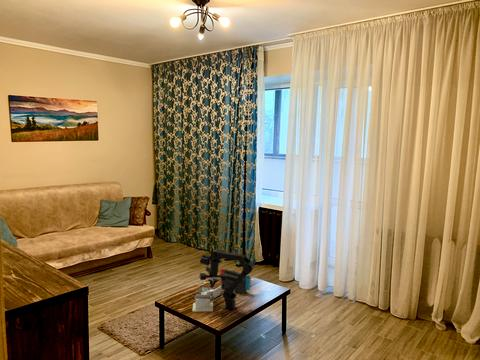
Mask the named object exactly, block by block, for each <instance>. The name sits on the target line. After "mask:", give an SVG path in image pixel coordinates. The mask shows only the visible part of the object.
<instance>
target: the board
mask: <svg viewBox="0 0 480 360" xmlns="http://www.w3.org/2000/svg"><path fill="white" fill-rule="evenodd" d="M192 304H193V305H192V312H194V313H195V312H196V313H198V312H200V313H201V312H213V311H214V302H210V309H196V302H193V303H192Z"/></svg>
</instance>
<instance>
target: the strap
mask: <svg viewBox="0 0 480 360" xmlns="http://www.w3.org/2000/svg"><path fill="white" fill-rule="evenodd" d="M195 298H210V294H209V295H198V294H195V295H194V299H195ZM210 299H211V298H210Z"/></svg>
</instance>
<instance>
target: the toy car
mask: <svg viewBox="0 0 480 360" xmlns="http://www.w3.org/2000/svg"><path fill="white" fill-rule="evenodd" d="M203 284H204V285H203ZM206 284H207V282H206V281H203V280H200V281H198V283H197V286H200V287H201V288H200V289H198V292H197V295H202V294H210V300H212V301H215V299H216V298H217V297H218V296H220V295H223V293H224V292H223V291H224V290H222V288H221V285H219V286H218V287H216V288H215V289H213V288H211V287H209V286H206V287H205V285H206ZM202 286H204V287H202Z"/></svg>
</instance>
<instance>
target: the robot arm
mask: <svg viewBox="0 0 480 360" xmlns="http://www.w3.org/2000/svg"><path fill="white" fill-rule="evenodd" d="M223 260H230V261H237V262H239V263H240V265H241V267H242V271H241V272H240V273H241V274H240V275H239V276H238V278H237V279H236V280H235V281H234V283H233V284H232V285H231V286H230V285H228V286H227V287H226V289H223V290H222V291H223V294H222V298H223V299H224V305H225V307H224V308H223V309H224V310H227V311H229V312H233V311H235V310H236V309H237V306H236V298H237V296H238V295H237V293H235V292H234V291H235V289H236V287H237V286H238V285H239V284H240V282H241V281H242V280H243V279H244V277H245V276H247V275H250V273H251V272H252V271H253V270H254V269H255V268H256V266H255V263H254V262H253V261H251V259H249V257H246V255H244V253H236V252H235V253H233V252H229V251H224V250H221V249H219V248H216V249H214V250H213V251H212V252H211V253H210V255H206V254H202V255H201V257H200V259H199V263H200V265H204V266H206V267H205V272H207V273H208V274H206V273H205V272H200V273H199V277H198V278H199V280H200V281H206V280H207V281H208V282H209V286H210V289H213V288H214V286H215V284H216V283H218V282H219V279H220V278H221V279H222V280H225V281H226V280H227V277H226V275H225V274H220V273H219V266H220V264H221V263H223ZM209 266H210V267H209Z"/></svg>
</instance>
